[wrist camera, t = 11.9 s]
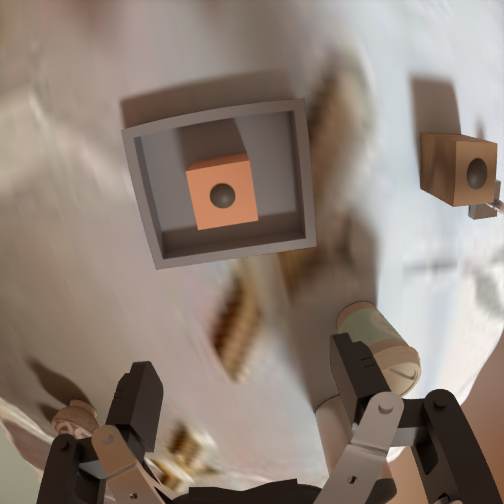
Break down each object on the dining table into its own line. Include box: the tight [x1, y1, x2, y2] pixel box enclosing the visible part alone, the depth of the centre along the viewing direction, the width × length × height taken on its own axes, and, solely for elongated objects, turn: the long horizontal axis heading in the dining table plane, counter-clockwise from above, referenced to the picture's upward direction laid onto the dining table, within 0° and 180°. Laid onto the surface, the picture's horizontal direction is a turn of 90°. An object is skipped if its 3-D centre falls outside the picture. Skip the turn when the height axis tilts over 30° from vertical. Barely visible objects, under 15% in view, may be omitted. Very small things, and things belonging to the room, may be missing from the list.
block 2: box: [421, 133, 497, 207], centre depth 26 cm, size 6×6×7 cm
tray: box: [121, 98, 317, 270], centre depth 28 cm, size 14×16×3 cm
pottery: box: [51, 400, 99, 440], centre depth 43 cm, size 11×25×12 cm, turn 157°
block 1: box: [186, 152, 258, 230], centre depth 26 cm, size 5×5×5 cm
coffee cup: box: [336, 301, 421, 398], centre depth 32 cm, size 9×8×12 cm
